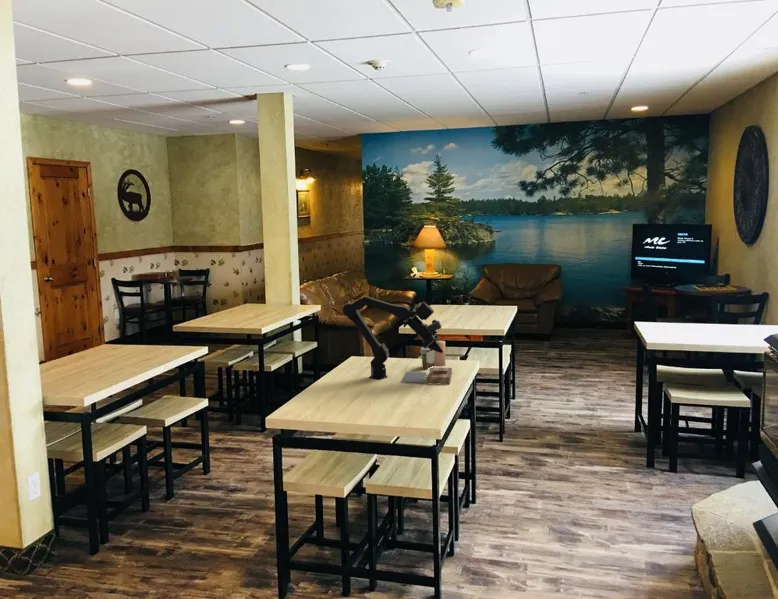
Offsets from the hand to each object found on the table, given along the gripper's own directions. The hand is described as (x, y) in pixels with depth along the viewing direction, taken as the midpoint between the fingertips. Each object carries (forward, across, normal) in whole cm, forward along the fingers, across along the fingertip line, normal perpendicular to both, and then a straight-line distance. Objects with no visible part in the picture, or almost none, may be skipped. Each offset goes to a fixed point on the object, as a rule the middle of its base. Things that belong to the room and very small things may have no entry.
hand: (442, 351), depth 304 cm
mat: (0, 0, +19) cm, 19 cm away
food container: (+3, +22, +16) cm, 28 cm away
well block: (+8, 0, +10) cm, 13 cm away
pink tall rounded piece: (+4, 0, +6) cm, 7 cm away
